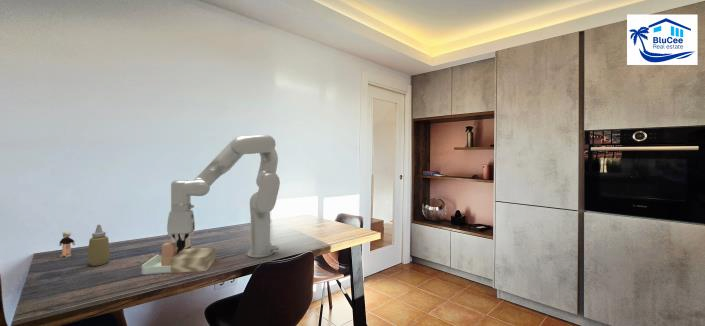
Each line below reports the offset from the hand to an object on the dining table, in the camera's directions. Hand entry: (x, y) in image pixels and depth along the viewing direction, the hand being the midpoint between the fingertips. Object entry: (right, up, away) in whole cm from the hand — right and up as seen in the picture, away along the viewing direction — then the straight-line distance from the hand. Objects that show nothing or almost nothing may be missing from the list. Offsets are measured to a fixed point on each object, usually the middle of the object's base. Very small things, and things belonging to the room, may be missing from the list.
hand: (181, 248), depth 130 cm
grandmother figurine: (-65, -8, +14) cm, 67 cm away
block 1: (-2, 0, 0) cm, 2 cm away
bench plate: (+5, -8, +1) cm, 10 cm away
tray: (-7, -8, -1) cm, 11 cm away
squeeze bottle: (-40, -8, +3) cm, 41 cm away
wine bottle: (-9, -8, +16) cm, 20 cm away
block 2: (-3, -5, 0) cm, 6 cm away
